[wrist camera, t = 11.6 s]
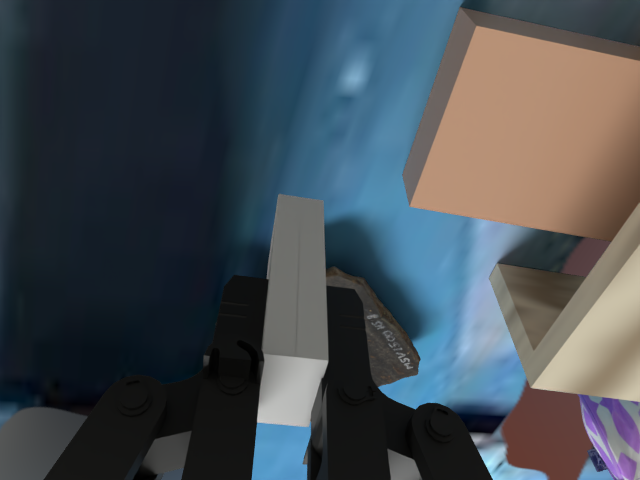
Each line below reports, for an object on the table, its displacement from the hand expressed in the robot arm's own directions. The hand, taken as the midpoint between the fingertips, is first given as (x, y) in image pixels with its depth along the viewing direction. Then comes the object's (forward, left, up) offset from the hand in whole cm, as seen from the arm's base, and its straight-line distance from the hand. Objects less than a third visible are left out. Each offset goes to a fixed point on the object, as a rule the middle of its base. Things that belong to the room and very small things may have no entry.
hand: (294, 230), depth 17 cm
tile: (+14, 0, -14) cm, 20 cm away
